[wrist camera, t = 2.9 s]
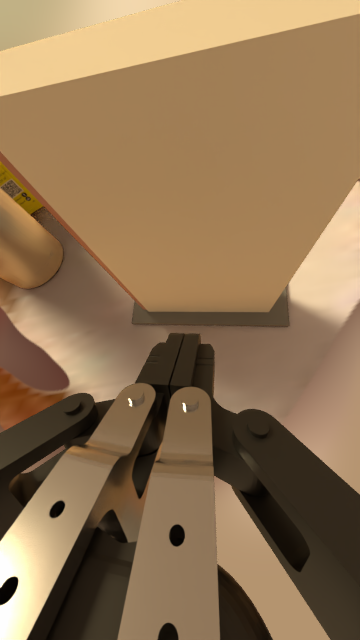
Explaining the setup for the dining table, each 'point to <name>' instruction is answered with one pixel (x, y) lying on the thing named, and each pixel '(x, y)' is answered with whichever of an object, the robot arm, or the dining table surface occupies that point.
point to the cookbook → (191, 142)
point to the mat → (217, 316)
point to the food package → (18, 191)
